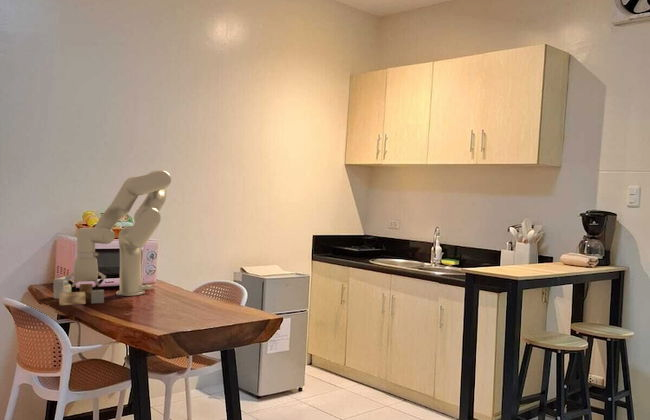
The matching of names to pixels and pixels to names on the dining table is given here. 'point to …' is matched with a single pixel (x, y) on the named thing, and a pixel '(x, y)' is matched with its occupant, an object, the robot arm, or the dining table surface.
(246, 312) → the dining table surface
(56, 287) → the medicine box
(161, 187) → the robot arm
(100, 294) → the slate block
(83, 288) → the walnut block
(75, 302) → the birch block
